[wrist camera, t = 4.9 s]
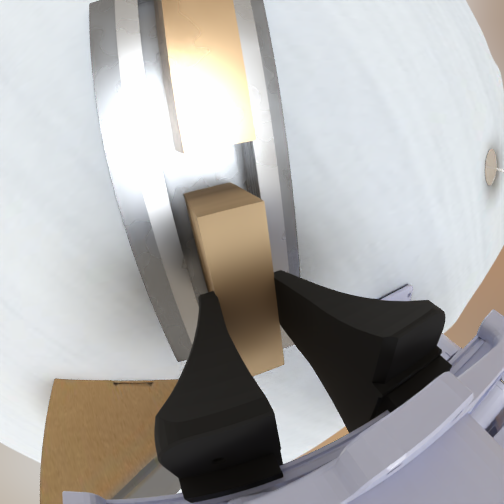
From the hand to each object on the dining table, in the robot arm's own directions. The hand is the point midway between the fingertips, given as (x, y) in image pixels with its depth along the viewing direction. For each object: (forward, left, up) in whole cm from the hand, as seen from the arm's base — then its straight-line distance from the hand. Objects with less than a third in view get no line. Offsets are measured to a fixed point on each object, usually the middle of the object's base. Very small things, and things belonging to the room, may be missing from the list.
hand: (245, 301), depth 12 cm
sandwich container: (-12, +9, -5) cm, 16 cm away
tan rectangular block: (0, 0, -4) cm, 4 cm away
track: (+5, 0, -5) cm, 7 cm away
